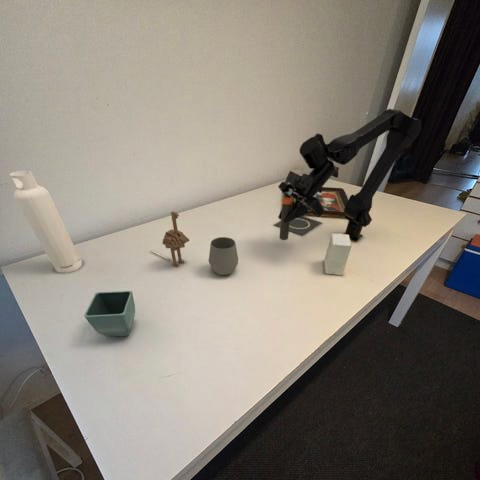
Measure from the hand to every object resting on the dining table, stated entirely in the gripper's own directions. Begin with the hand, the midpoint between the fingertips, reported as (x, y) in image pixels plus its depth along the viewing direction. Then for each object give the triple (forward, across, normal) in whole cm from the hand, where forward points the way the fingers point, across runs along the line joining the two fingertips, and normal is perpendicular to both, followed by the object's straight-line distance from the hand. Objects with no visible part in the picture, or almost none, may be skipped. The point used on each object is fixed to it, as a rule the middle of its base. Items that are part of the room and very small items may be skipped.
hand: (281, 220), depth 85 cm
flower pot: (+49, +15, -30) cm, 59 cm away
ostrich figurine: (+35, -13, -16) cm, 41 cm away
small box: (0, +15, +18) cm, 24 cm away
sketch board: (-6, -18, +24) cm, 31 cm away
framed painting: (-22, -35, +40) cm, 57 cm away
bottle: (+57, -22, -38) cm, 72 cm away
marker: (+3, 0, +6) cm, 7 cm away
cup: (+24, +1, -6) cm, 25 cm away
